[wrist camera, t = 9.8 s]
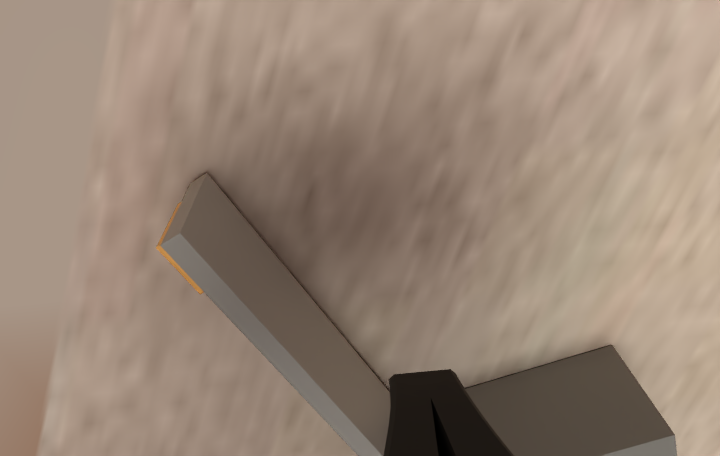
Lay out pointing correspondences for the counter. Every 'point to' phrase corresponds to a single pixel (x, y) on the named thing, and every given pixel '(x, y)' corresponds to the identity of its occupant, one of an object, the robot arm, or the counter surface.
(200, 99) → the counter surface
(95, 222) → the counter surface
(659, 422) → the camera body
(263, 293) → the side door
